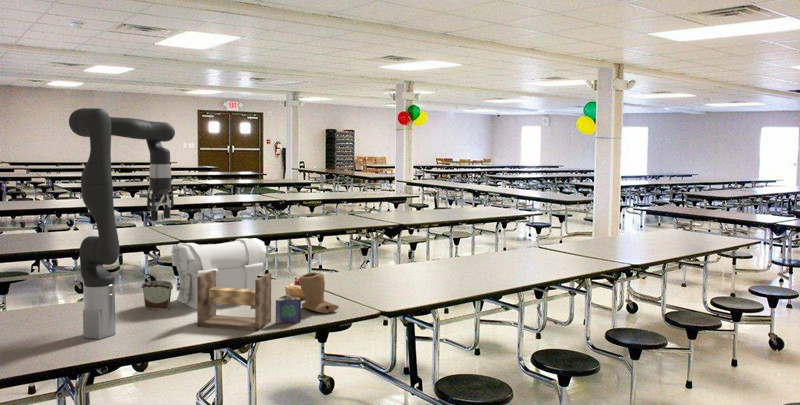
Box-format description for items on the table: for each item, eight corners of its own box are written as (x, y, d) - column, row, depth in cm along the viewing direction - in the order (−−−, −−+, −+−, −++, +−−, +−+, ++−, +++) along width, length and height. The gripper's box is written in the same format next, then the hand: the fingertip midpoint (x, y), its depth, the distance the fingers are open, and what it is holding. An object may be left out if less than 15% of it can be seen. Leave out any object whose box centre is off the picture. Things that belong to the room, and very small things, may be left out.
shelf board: (209, 303, 219) (208, 289, 218) (214, 300, 223) (214, 287, 222) (256, 306, 216) (256, 292, 216) (260, 303, 220) (260, 289, 220)
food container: (178, 305, 243) (178, 281, 242) (171, 309, 237) (171, 284, 236) (149, 304, 244) (149, 279, 243) (141, 308, 238) (141, 283, 237)
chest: (245, 289, 274) (245, 234, 272) (271, 298, 258) (271, 240, 256) (168, 300, 251) (167, 241, 249) (191, 312, 234) (190, 248, 232)
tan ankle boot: (293, 308, 243) (293, 271, 242) (318, 304, 251) (319, 268, 249) (313, 316, 232) (314, 278, 230) (339, 312, 239) (340, 274, 238)
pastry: (304, 293, 270) (304, 273, 270) (318, 298, 261) (318, 277, 261) (279, 296, 263) (280, 275, 262) (293, 301, 254) (294, 280, 253)
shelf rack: (258, 330, 212) (258, 280, 211) (197, 326, 216) (197, 276, 214) (271, 321, 224) (271, 273, 223) (213, 317, 228) (212, 270, 226)
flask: (275, 324, 220) (276, 295, 220) (274, 322, 223) (275, 293, 222) (301, 322, 223) (301, 294, 222) (300, 320, 226) (300, 292, 225)
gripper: (161, 175, 234) (161, 217, 235) (140, 176, 220) (140, 221, 221) (179, 175, 233) (180, 217, 234) (159, 177, 219) (159, 222, 220)
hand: (160, 219), depth 228 cm, fingers open, 8 cm apart
